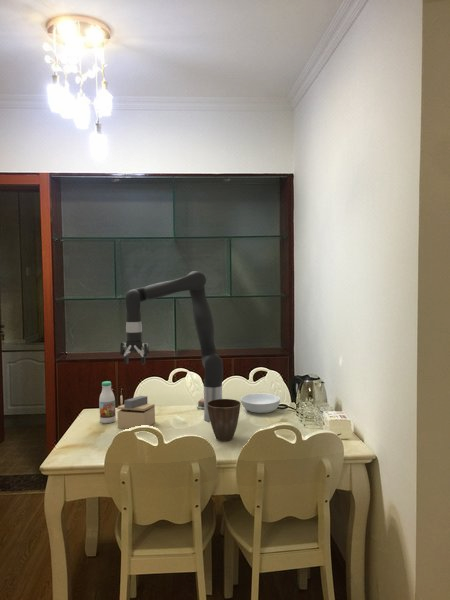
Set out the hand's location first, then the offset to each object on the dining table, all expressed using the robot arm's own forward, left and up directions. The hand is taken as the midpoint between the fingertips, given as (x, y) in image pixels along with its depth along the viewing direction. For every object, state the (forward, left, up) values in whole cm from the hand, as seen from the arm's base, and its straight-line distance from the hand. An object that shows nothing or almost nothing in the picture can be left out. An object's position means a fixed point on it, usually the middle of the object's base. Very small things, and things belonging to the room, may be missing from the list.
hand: (135, 364), depth 235 cm
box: (0, 0, -30) cm, 30 cm away
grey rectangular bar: (0, 0, -20) cm, 20 cm away
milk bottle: (+17, -2, -30) cm, 35 cm away
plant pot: (-47, +8, -30) cm, 56 cm away
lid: (0, 0, -21) cm, 21 cm away
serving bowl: (-54, -37, -30) cm, 72 cm away
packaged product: (-29, -37, -31) cm, 56 cm away
